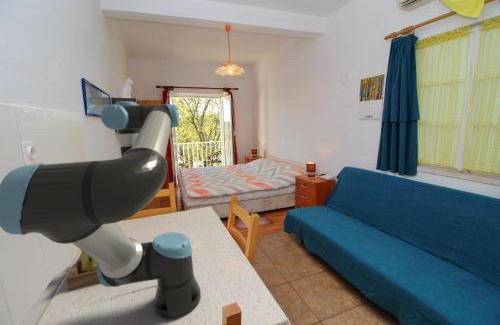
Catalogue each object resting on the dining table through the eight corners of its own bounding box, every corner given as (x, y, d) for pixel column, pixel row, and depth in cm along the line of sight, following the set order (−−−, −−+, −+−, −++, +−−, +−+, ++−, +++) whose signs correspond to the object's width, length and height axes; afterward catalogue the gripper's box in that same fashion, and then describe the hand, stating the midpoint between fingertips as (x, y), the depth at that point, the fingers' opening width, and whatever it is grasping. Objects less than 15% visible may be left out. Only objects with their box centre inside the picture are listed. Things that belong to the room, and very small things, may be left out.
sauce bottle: (92, 276, 92) (83, 230, 89) (80, 274, 94) (72, 228, 91) (106, 266, 98) (99, 223, 95) (95, 264, 100) (88, 222, 97)
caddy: (135, 276, 93) (133, 262, 92) (69, 293, 85) (66, 278, 84) (138, 251, 111) (136, 240, 110) (84, 263, 103) (82, 251, 102)
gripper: (140, 147, 75) (148, 209, 78) (144, 142, 98) (150, 190, 101) (114, 149, 72) (123, 213, 76) (124, 143, 95) (131, 192, 99)
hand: (138, 200), depth 88 cm, fingers open, 13 cm apart
